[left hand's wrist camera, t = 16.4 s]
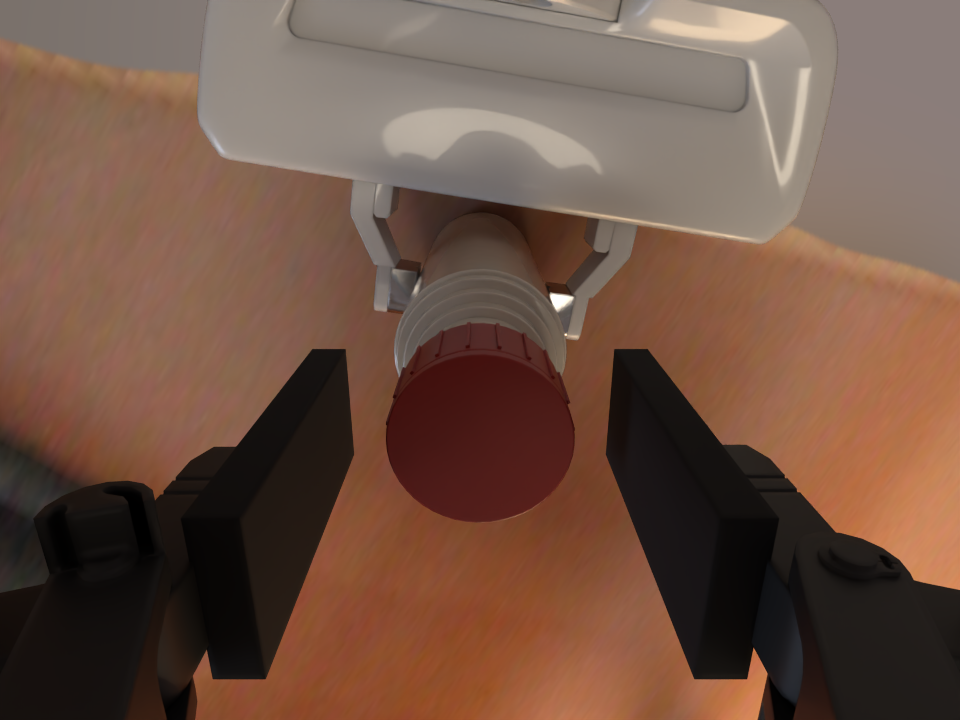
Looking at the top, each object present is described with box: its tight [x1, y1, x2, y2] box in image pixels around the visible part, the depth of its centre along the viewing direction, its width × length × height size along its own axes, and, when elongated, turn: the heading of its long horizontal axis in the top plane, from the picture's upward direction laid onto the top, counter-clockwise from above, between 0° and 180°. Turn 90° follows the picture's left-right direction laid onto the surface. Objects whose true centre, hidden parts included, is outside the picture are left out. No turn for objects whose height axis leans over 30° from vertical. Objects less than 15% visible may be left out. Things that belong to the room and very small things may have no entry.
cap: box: [386, 322, 575, 523], centre depth 13 cm, size 4×4×2 cm
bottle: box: [394, 212, 567, 377], centre depth 21 cm, size 5×5×18 cm
